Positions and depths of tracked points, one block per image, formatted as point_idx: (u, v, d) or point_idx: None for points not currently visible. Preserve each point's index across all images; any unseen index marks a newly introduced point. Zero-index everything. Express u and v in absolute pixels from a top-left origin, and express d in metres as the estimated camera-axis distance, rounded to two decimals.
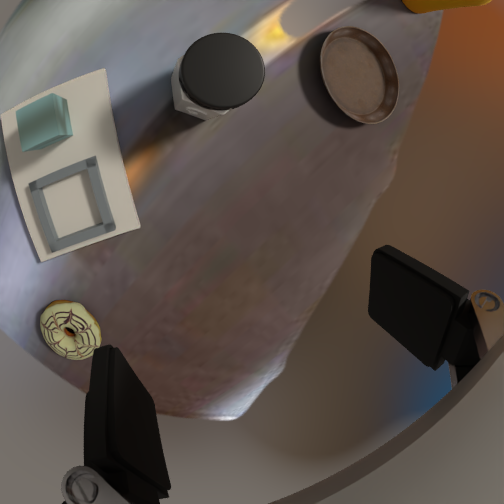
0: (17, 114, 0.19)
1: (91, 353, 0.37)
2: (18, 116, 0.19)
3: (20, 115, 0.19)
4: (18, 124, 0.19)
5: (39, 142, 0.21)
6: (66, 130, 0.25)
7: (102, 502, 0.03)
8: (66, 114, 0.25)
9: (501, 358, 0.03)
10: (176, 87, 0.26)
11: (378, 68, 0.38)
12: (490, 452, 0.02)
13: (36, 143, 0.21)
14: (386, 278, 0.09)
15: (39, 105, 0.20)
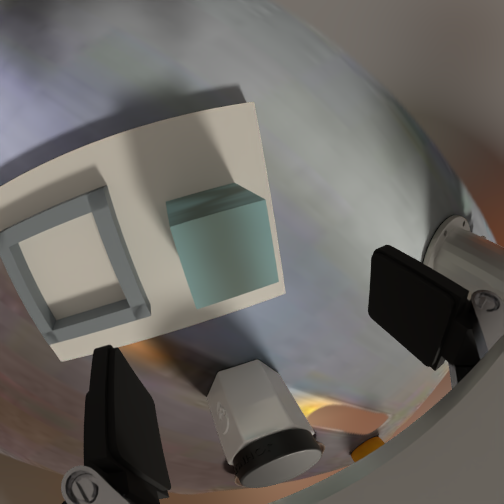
0: (257, 206, 0.14)
1: None
2: (251, 210, 0.14)
3: (253, 215, 0.14)
4: (234, 211, 0.14)
5: (185, 269, 0.14)
6: None
7: (102, 502, 0.03)
8: None
9: (501, 358, 0.03)
10: (252, 404, 0.23)
11: None
12: (491, 451, 0.02)
13: (184, 263, 0.14)
14: (386, 278, 0.09)
15: (262, 259, 0.16)
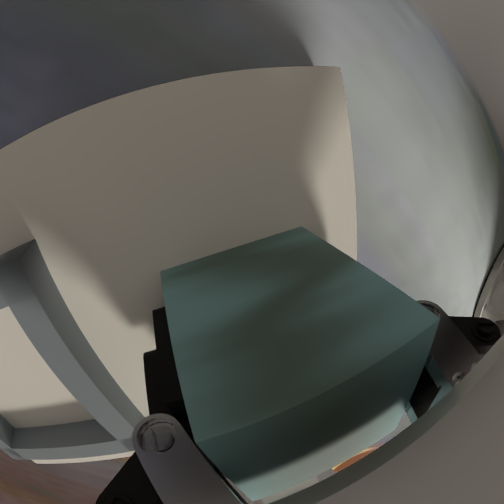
0: (422, 337, 0.05)
1: None
2: (410, 349, 0.05)
3: (410, 358, 0.05)
4: (378, 366, 0.04)
5: (237, 480, 0.05)
6: None
7: (182, 445, 0.04)
8: None
9: (501, 358, 0.03)
10: None
11: None
12: (491, 451, 0.02)
13: (235, 476, 0.04)
14: None
15: (388, 417, 0.06)
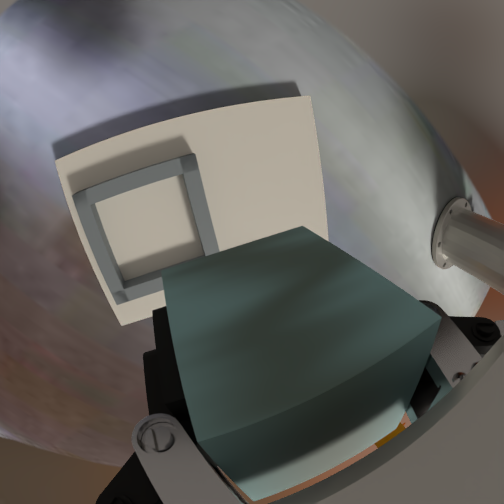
0: (424, 336, 0.05)
1: None
2: (412, 348, 0.05)
3: (412, 356, 0.05)
4: (381, 365, 0.04)
5: (238, 480, 0.05)
6: None
7: (182, 445, 0.04)
8: None
9: (501, 358, 0.03)
10: None
11: None
12: (490, 452, 0.02)
13: (237, 475, 0.04)
14: None
15: (389, 416, 0.06)
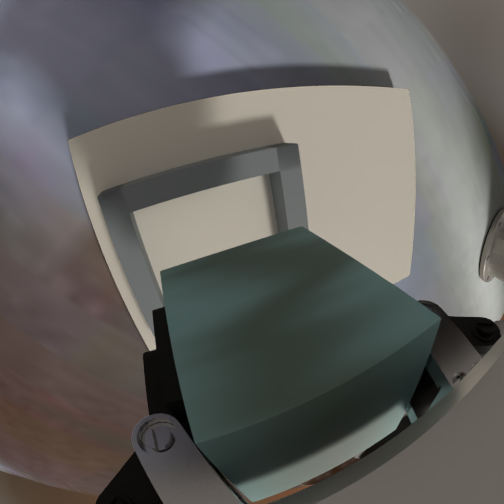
0: (424, 337, 0.05)
1: None
2: (412, 349, 0.05)
3: (411, 358, 0.05)
4: (379, 367, 0.04)
5: (237, 481, 0.05)
6: None
7: (182, 445, 0.04)
8: None
9: (501, 358, 0.03)
10: None
11: None
12: (490, 451, 0.02)
13: (235, 477, 0.04)
14: None
15: (389, 418, 0.06)
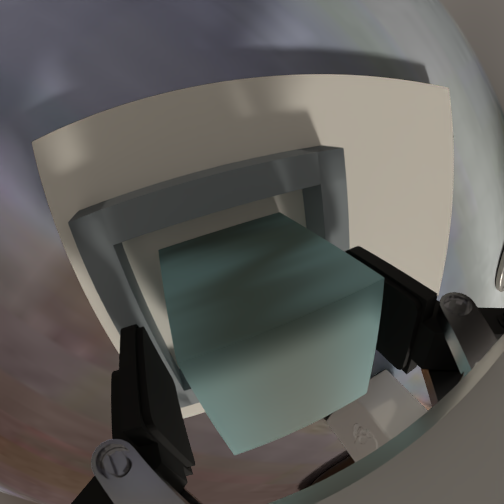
0: (368, 293, 0.06)
1: None
2: (357, 302, 0.06)
3: (359, 310, 0.06)
4: (326, 312, 0.06)
5: (216, 419, 0.06)
6: None
7: (136, 473, 0.04)
8: None
9: (501, 358, 0.03)
10: (401, 418, 0.18)
11: None
12: (491, 451, 0.02)
13: (213, 412, 0.06)
14: None
15: (353, 375, 0.07)
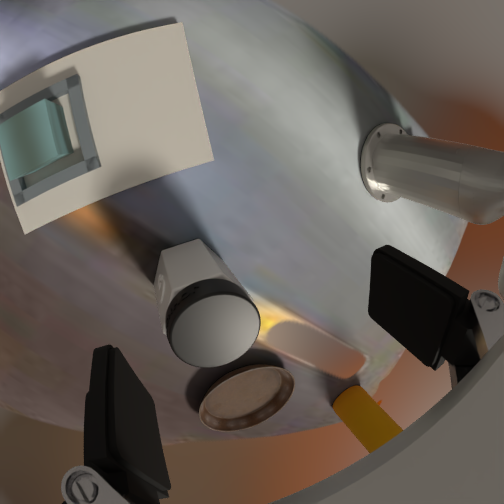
0: (39, 103, 0.14)
1: None
2: (36, 106, 0.14)
3: (38, 109, 0.14)
4: (27, 110, 0.14)
5: (3, 152, 0.14)
6: (28, 173, 0.18)
7: (102, 502, 0.03)
8: (51, 162, 0.20)
9: (501, 358, 0.03)
10: (187, 264, 0.26)
11: (259, 406, 0.48)
12: (490, 451, 0.02)
13: (2, 147, 0.14)
14: (386, 278, 0.09)
15: (44, 138, 0.16)
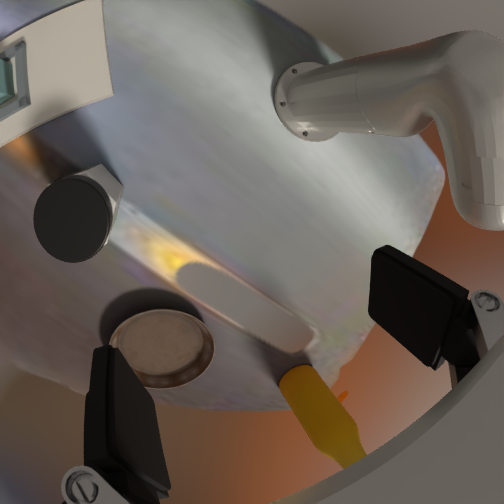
0: None
1: None
2: None
3: None
4: None
5: None
6: None
7: (102, 502, 0.03)
8: None
9: (501, 358, 0.03)
10: (73, 173, 0.25)
11: (182, 365, 0.46)
12: (491, 452, 0.02)
13: None
14: (386, 278, 0.09)
15: None
